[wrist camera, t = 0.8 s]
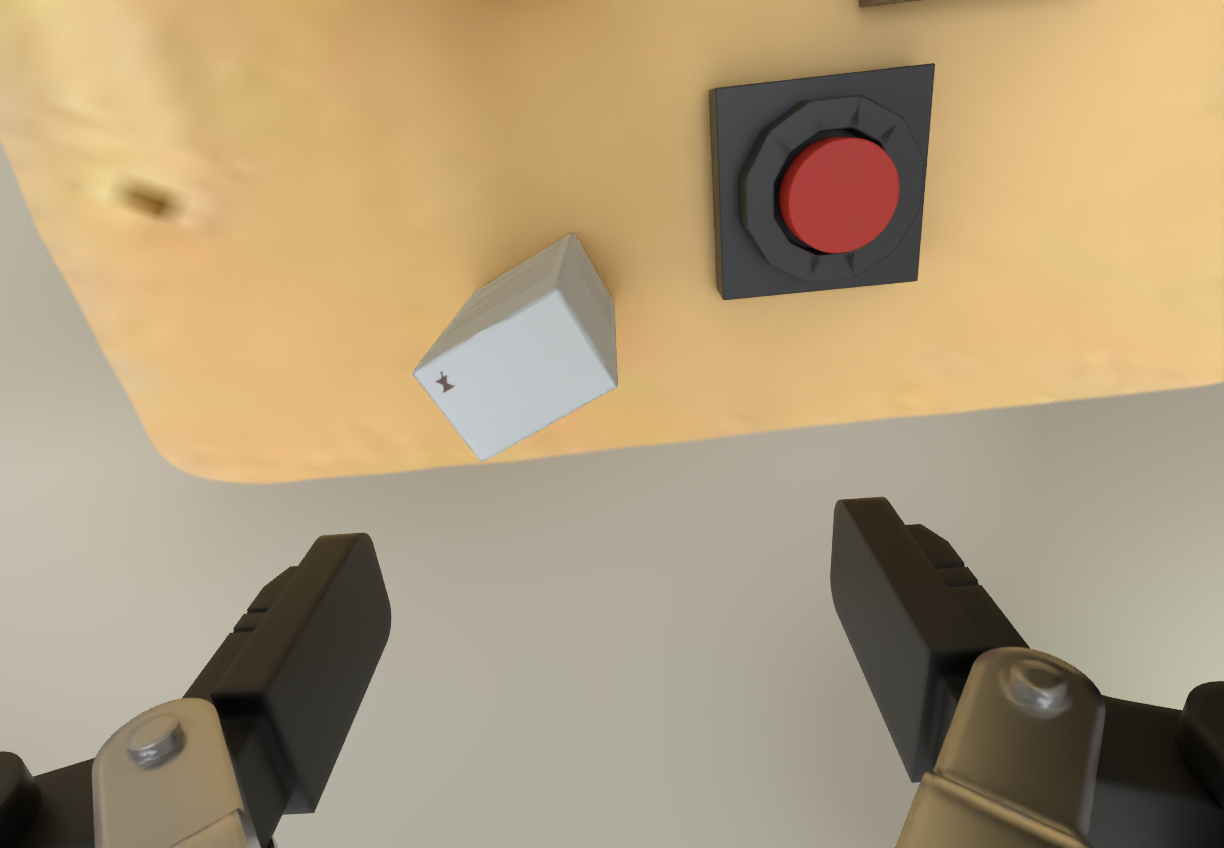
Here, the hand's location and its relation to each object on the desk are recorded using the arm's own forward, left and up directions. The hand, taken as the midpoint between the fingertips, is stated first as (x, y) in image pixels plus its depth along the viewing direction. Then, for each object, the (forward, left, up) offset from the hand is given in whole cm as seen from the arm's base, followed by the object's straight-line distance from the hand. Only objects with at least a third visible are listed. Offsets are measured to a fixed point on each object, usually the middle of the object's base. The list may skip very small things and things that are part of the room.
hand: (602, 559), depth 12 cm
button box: (-3, +10, -24) cm, 26 cm away
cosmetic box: (+1, -3, -24) cm, 24 cm away
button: (-3, +10, -20) cm, 23 cm away
